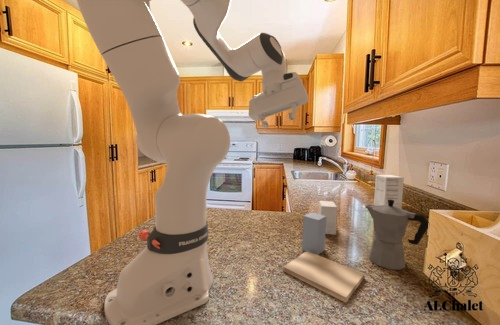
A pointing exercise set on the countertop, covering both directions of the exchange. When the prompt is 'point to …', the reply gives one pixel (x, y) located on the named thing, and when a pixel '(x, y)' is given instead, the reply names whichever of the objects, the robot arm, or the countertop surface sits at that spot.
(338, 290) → the beech board
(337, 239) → the countertop surface
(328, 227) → the small box
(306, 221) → the slate block
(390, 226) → the coffeepot
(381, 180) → the supplement box
